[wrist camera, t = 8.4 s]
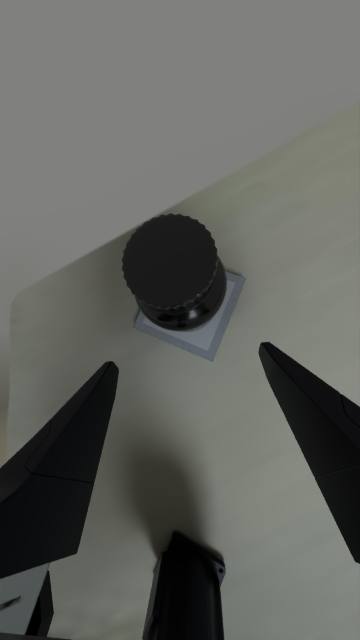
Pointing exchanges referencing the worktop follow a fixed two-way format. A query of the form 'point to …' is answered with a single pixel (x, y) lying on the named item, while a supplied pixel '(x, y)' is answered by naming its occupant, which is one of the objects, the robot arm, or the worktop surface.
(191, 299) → the supplement bottle
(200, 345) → the plate
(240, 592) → the worktop surface
